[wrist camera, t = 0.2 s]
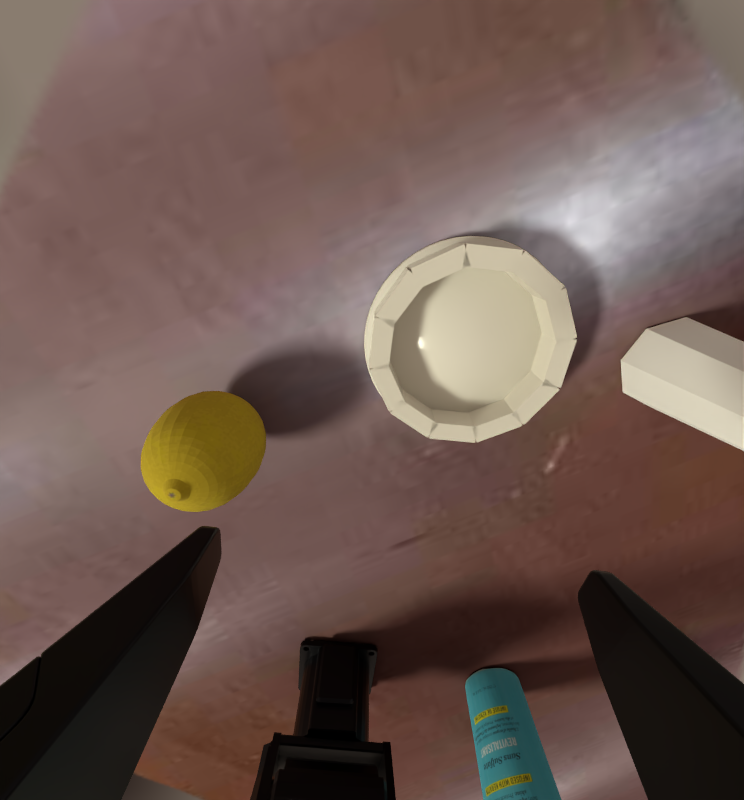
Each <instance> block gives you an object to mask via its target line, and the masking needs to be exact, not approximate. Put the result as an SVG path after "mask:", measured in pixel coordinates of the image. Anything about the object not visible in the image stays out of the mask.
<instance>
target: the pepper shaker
mask: <svg viewBox="0 0 744 800" xmlns="http://www.w3.org/2000/svg"><path fill="white" fill-rule="evenodd" d="M621 372H622V388H623V393H625V394H627V395H629V396H631V397H633V398H634V399H636V400H638V401H640V402H642V403H644V404H646V405H647V406H649V407H651V408H654V409H656V410H658V411H660V412H662V413H664V414H666V415H668V416H671V417H673V418H675V419H677V420H679V421H681V422H683V423H685V424H688V425H690V426H692V427H694V428H696V429H698V430H700V431H702V432H705V433H707V434H709V435H711V436H713V437H715V438H717V439H719V440H722V441H724V442H726V443H728V444H730V445H732V446H734V447H736V448H739V449H741V450H743V451H744V342H743V341H741V340H738V339H736V338H734V337H731V336H729V335H727V334H725V333H722V332H720V331H718V330H715V329H713V328H711V327H708V326H706V325H704V324H701V323H699V322H697V321H694V320H692V319H690V318H688V317H685V318H681V319H678V320H674V321H671V322H668V323H664V324H661V325H657V326H654V327H651V328H647V329H645V331H644V332H643V333H642V334H641V336H640V337H639V338H638V339H637V341H636V342H635V343H634V344H633V346H632V347H631V348H630V349H629V350H628V352H627V353H626V354H625V355H624V357H623V358H622V359H621Z"/></svg>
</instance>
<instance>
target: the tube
mask: <svg viewBox="0 0 744 800" xmlns="http://www.w3.org/2000/svg"><path fill="white" fill-rule="evenodd" d="M465 688H466V695H467V701H468V707H469V713H470V719H471V725H472V731H473V737H474V743H475V749H476V755H477V762H478V768H479V774H480V781H481V787H482V793H483V800H561V797H560V795H559V792H558V789H557V786H556V783H555V781H554V778H553V775H552V772H551V769H550V767H549V764H548V761H547V758H546V755H545V753H544V750H543V747H542V744H541V741H540V738H539V735H538V733H537V730H536V727H535V724H534V721H533V718H532V715H531V712H530V710H529V707H528V704H527V701H526V698H525V695H524V692H523V689H522V687H521V684H520V681H519V679H518V677H517V676H516V675H515V674H514V673H513V672H511V671H509V670H507V669H503V668H490V669H481V670H479V671H477V672H475V673H473V674H472V675H471V676H469V678H468V679H467V681H466V685H465Z"/></svg>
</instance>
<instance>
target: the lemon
mask: <svg viewBox="0 0 744 800" xmlns="http://www.w3.org/2000/svg"><path fill="white" fill-rule="evenodd" d="M265 448H266V433H265V429H264V425H263V421H262V420H261V418H260V416H259V414H258V412H257V411H256V410H255V409H254V408H253V407H252V406H251V405H250V404H249V403H248V402H247V401H245V400H244V399H242V398H241V397H238V396H236V395H233V394H231V393H226V392H221V391H207V392H201V393H198V394H194V395H191V396H188V397H186V398H184V399H182V400H181V401H179V402H178V403H176V404H174V405H173V406H171V407H170V408H169V409H167V410H166V411H165V412H164V413H163V415H162V416H161V417H160V418H159V419H158V421H157V422H156V423H155V424H154V426H153V427H152V429H151V430H150V432H149V434H148V436H147V439H146V441H145V444H144V447H143V449H142V454H141V471H142V475H143V478H144V481H145V483H146V485H147V486H148V488H149V490H150V491H151V492H152V493H153V495H154V496H155V497H156V498H157V499H159V500H160V501H162V502H163V503H164V504H166V505H168V506H170V507H173V508H175V509H179V510H182V511H191V512H199V511H206V510H211V509H214V508H216V507H219V506H222V505H224V504H225V503H227V502H229V501H230V500H231V499H233V498H234V497H236V496H237V495H238V494H239V493H241V492H242V491H243V490H244V489H245V487H246V486H247V485H248V484H249V482H250V481H251V480H252V478H253V477H254V476H255V474H256V473H257V471H258V470H259V467H260V465H261V462H262V459H263V456H264V453H265Z"/></svg>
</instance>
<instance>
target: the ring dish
mask: <svg viewBox="0 0 744 800" xmlns="http://www.w3.org/2000/svg"><path fill="white" fill-rule="evenodd" d="M575 338H577V334H576V330H575V325H574V321H573V317H572V312H571V308H570V303H569V299H568V295H567V290H566V288H564V285H563V284H562V283H561V282H560V281H559V280H558V279H556V278H555V277H554V276H553V275H552V274H551V273H550V272H549V271H547V269H546V268H545V267H544V266H543V265H542V264H541V263H540V262H539V261H538V260H537V259H536V258H535V257H534V256H532V255H531V254H530V253H528V252H527V251H526V250H524V249H522V248H520V247H518V246H516V245H514V244H512V243H509V242H506V241H503V240H501V239H496V238H490V237H481V236H464V237H454V238H450V239H446V240H442V241H439V242H436V243H434V244H431V245H428V246H426V247H425V248H423V249H421V250H419V251H417V252H415V253H414V254H412V255H411V256H410V257H408V258H407V259H406V260H404V261H403V262H402V263H401V264H400V265H399V266H398V267H397V268H396V269H395V270H393V271H392V273H391V274H390V275H389V276H388V278H387V279H386V280H385V281H384V283H383V284H382V286H381V287H380V289H379V291H378V292H377V294H376V296H375V298H374V300H373V303H372V305H371V308H370V311H369V314H368V317H367V322H366V328H365V341H364V349H365V358H366V363H367V367H368V371H369V374H370V376H371V379H372V381H373V383H374V385H375V387H376V389H377V390H378V392H379V393H380V395H381V396H382V398H383V400H384V402H385V404H386V406H387V408H388V410H389V411H390V413H391V414H393V415H394V416H396V417H397V418H399V419H400V420H402V421H403V422H405V423H406V424H408V425H409V426H411V427H412V428H414V429H415V430H417V431H418V432H420V433H421V434H423V435H424V436H426V437H428V436H429V438H431V439H441V440H452V441H462V442H473V443H475V440H476V441H477V442H479V441H482V440H485V439H488V438H490V437H493V436H496V435H499V434H501V433H504V432H507V431H510V430H513V429H515V428H518V427H521V426H522V424H525V423H526V422H527V421H528V420H529V419H530V418H531V417H532V416H533V415H535V414H536V413H537V412H538V411H539V410H540V409H541V408H542V407H543V406H544V405H545V404H546V403H547V402H548V401H549V400H550V399H551V398H552V397H553V396H554V395H555V394H556V393H557V392H558V391H559V389H558V388H557V387H560V388H561V386H562V383H563V380H564V377H565V374H566V371H567V368H568V365H569V362H570V359H571V356H572V353H573V350H574V347H575V344H576V341H577V340H576V339H575ZM521 423H522V424H521Z"/></svg>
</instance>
